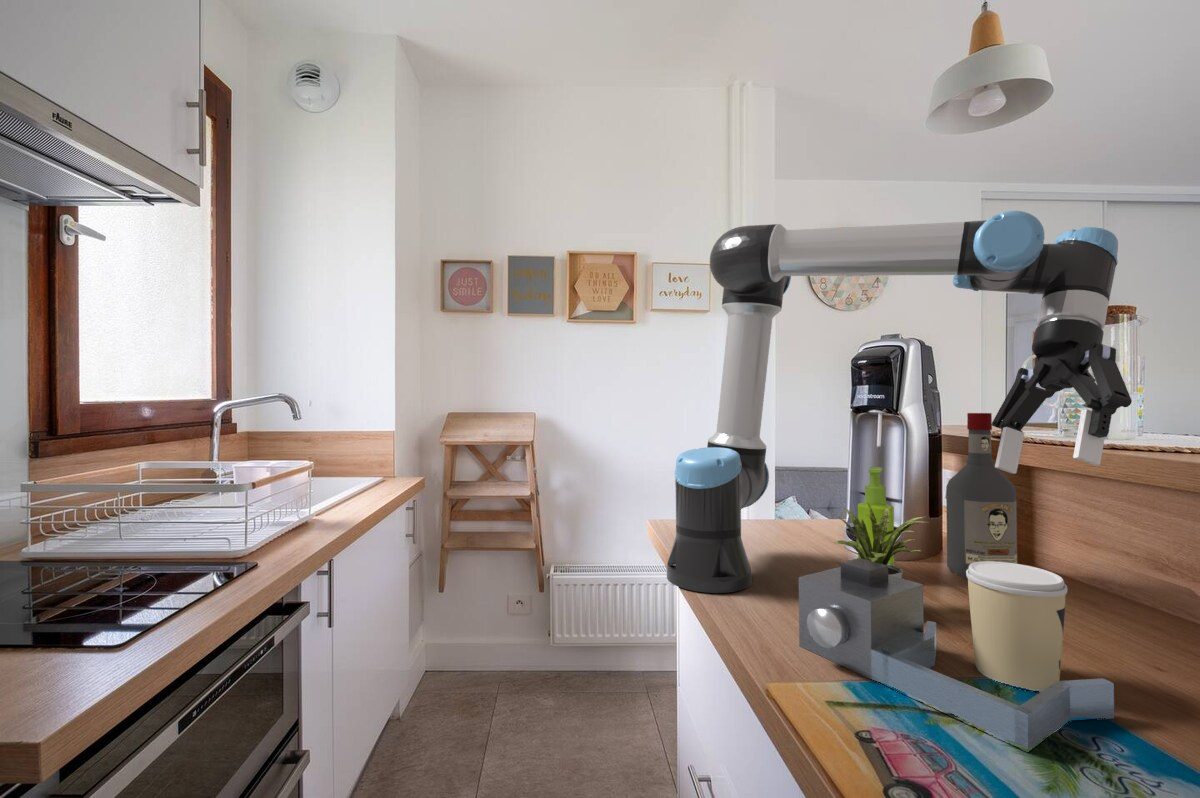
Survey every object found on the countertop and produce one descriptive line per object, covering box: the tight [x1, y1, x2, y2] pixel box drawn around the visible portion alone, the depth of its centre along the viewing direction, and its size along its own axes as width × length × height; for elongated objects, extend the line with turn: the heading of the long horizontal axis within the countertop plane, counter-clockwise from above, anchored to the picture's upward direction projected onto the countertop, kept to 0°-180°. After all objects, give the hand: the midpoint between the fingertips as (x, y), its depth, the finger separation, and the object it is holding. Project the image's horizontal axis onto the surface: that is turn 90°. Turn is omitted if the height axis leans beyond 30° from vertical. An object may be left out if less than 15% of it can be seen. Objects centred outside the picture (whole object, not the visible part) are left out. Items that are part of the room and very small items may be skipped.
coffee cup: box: [966, 561, 1068, 693], centre depth 62 cm, size 9×9×12 cm
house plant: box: [834, 502, 930, 579], centre depth 81 cm, size 14×14×16 cm
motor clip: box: [798, 557, 1115, 749], centre depth 61 cm, size 16×27×11 cm, turn 31°
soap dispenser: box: [857, 466, 895, 566], centre depth 98 cm, size 6×7×20 cm
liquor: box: [945, 412, 1018, 581], centre depth 98 cm, size 9×9×30 cm
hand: (1042, 466), depth 73 cm, fingers open, 13 cm apart
